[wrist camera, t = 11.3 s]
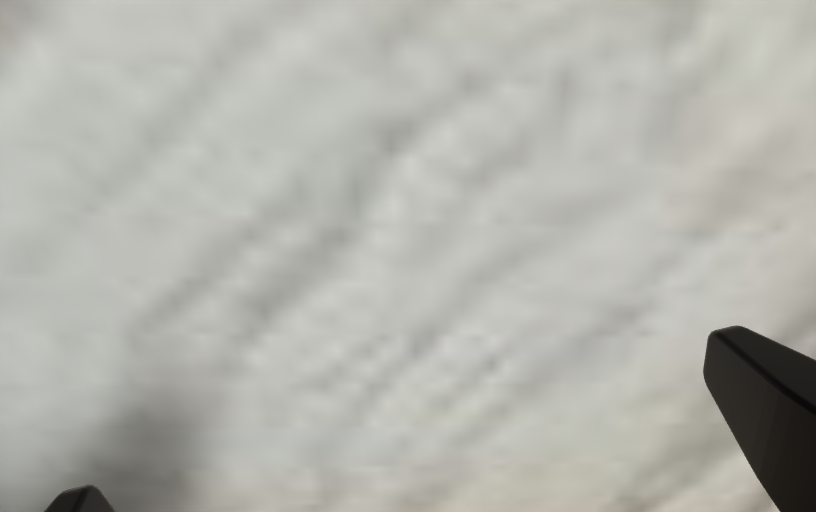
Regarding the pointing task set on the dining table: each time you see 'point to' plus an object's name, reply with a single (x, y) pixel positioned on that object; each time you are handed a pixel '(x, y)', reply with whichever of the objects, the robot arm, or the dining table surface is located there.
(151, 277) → the dining table surface
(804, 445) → the robot arm
